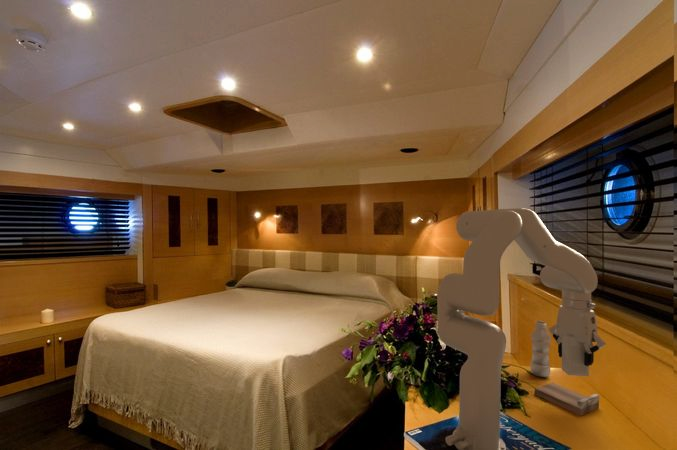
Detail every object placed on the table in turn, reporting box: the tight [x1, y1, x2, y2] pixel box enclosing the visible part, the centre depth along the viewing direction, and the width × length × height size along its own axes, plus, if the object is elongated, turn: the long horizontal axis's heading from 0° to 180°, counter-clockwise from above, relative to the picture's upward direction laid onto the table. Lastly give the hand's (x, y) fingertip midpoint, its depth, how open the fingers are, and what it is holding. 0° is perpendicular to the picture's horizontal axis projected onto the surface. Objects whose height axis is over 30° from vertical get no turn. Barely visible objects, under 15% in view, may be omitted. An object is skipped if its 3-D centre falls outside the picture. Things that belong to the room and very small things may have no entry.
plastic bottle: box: [529, 320, 552, 378], centre depth 127 cm, size 6×7×20 cm
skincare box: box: [561, 334, 590, 377], centre depth 106 cm, size 6×4×12 cm
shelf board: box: [534, 382, 600, 417], centre depth 108 cm, size 10×14×4 cm
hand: (575, 360), depth 106 cm, fingers closed on skincare box, 6 cm apart
